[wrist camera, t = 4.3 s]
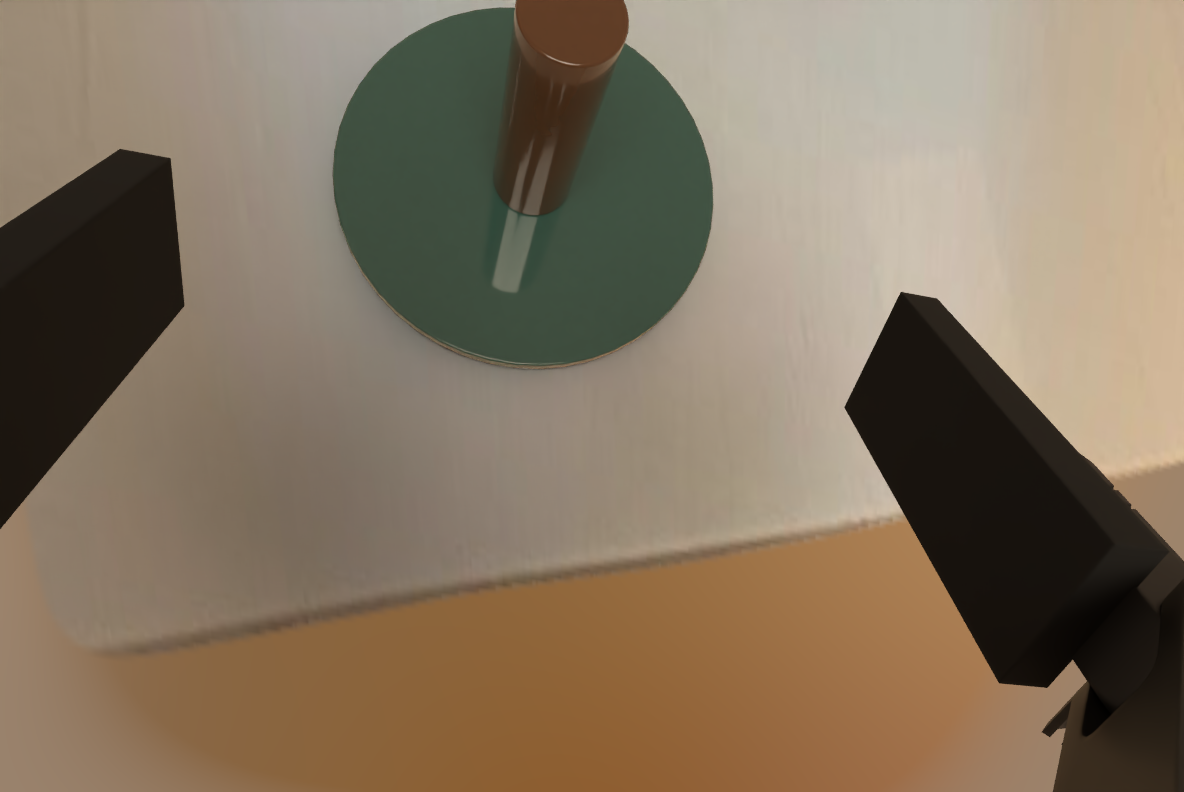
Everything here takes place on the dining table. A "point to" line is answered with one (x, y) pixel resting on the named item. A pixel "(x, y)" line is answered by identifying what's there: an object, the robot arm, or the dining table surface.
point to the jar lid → (524, 184)
